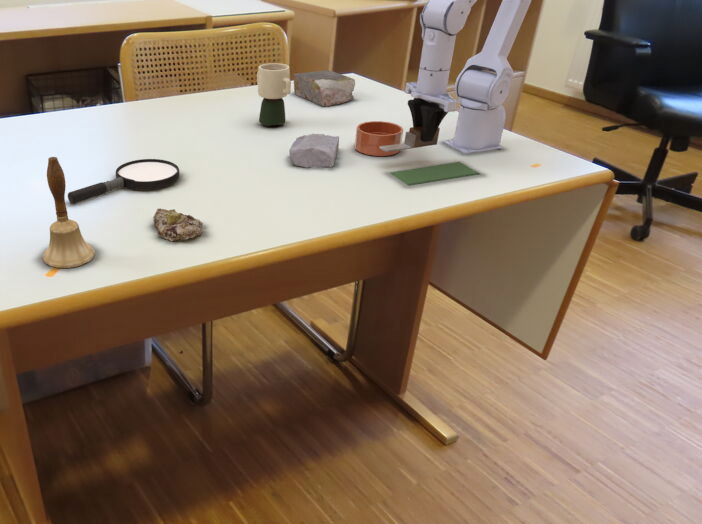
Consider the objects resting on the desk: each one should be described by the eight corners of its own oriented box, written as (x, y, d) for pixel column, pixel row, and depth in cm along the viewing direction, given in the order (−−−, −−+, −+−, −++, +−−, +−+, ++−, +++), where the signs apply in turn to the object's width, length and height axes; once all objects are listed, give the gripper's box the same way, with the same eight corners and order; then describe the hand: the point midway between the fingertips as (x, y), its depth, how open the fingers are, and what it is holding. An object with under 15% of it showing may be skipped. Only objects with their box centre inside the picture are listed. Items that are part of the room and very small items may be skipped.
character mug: (298, 126, 161) (302, 68, 154) (276, 133, 158) (279, 73, 150) (267, 116, 168) (269, 59, 160) (245, 122, 164) (246, 64, 157)
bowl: (384, 140, 153) (387, 119, 150) (408, 154, 146) (411, 132, 143) (346, 146, 150) (348, 124, 147) (368, 160, 143) (371, 137, 140)
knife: (429, 141, 141) (432, 124, 139) (437, 144, 139) (440, 128, 137) (379, 148, 138) (381, 131, 136) (385, 152, 136) (388, 135, 134)
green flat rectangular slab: (458, 163, 141) (459, 161, 141) (480, 175, 136) (481, 173, 136) (389, 174, 137) (389, 172, 137) (408, 187, 131) (409, 185, 131)
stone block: (289, 174, 141) (337, 168, 139) (285, 151, 139) (334, 144, 136) (296, 157, 151) (341, 150, 148) (292, 135, 148) (339, 128, 146)
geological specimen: (326, 68, 186) (360, 77, 174) (324, 92, 189) (357, 102, 178) (292, 72, 181) (325, 82, 170) (291, 96, 185) (324, 107, 173)
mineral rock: (217, 219, 114) (179, 220, 109) (212, 244, 116) (175, 246, 111) (178, 202, 121) (141, 202, 116) (175, 226, 123) (138, 227, 118)
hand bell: (32, 263, 107) (13, 164, 98) (60, 241, 114) (45, 146, 104) (78, 272, 105) (63, 171, 96) (104, 249, 111) (92, 152, 102)
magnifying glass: (53, 194, 130) (51, 183, 128) (153, 163, 143) (153, 152, 141) (90, 214, 122) (88, 202, 121) (192, 179, 135) (191, 168, 134)
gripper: (396, 61, 135) (387, 130, 143) (439, 78, 124) (426, 152, 132) (426, 58, 137) (416, 126, 145) (471, 75, 126) (457, 148, 134)
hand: (423, 138), depth 139 cm, fingers closed on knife, 2 cm apart
